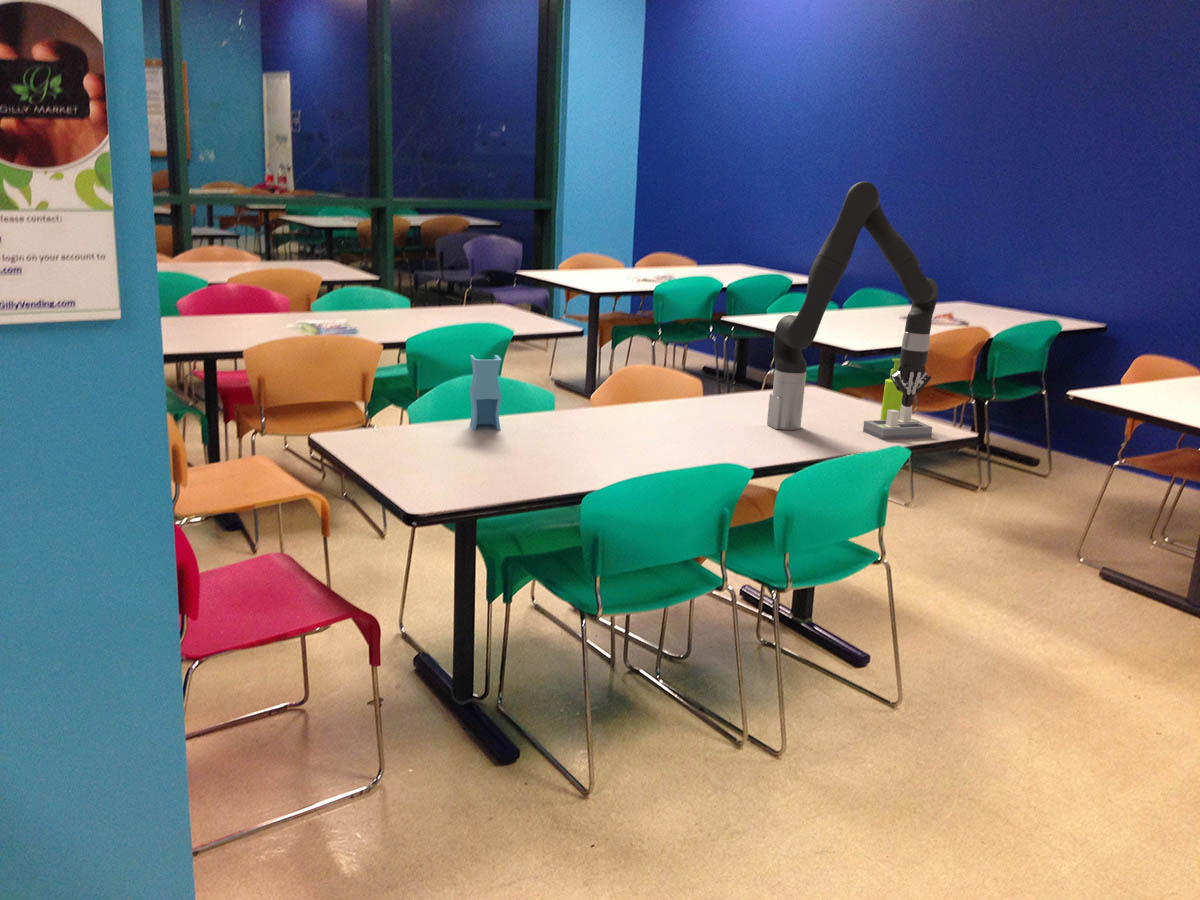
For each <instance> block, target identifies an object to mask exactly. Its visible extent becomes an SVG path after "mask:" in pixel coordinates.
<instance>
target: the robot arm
mask: <svg viewBox="0 0 1200 900" xmlns="http://www.w3.org/2000/svg"><path fill="white" fill-rule="evenodd" d="M843 201H844V202H843V205H842V207H841V210H840V212H839V215H838V217H837V220H836V222H835V223H834V226H833V227H832V229H831V230H830V232H829V234H828V235H827V237H826V239H825V240H824V242H823V244H822V246H821V247H820V250H819V251H818V254H816V257H815V259H814V261H813V263H812V266H811V267H810V270H809V273H808V278H807V288H806V295H805V299H804V301H803V304H802V306H801V308H800V310H799V311H798V312H797V315H794V314H793V315H792V314H787V315H785V316H783V317H782V318H780V319H779V320H778V322H777V324H776V326H775V331H774V339H773V360H774V366H775V367H774V376H773V384H772V385H773V386H772V393H770V394H769V399H768V410H767V421H766V426H767V425H768V426H770V427H771V428H773V429H775V430H783V431H795V430H799V429H801V427H802V416H803V408H804V407H803V406H804V396H805V389H806V388H805V387H806V381H807V379H806V378H807V369H808V364H807V361H806V359H805V357H804V355H803V350H805V349H807V348H808V347H809V346H811V345H812V343H813V341H814V340H815V337H816V335H817V334H818V330H819V328H820V324H821V323H822V319H823V317H824V314H825V312H826V310H827V308H828V306H829V303H830V302H831V300H832V298H833V295H834V293H835V291H836V289H837V287H838V286H839V283H840V281H841V279H842V278H843V276H844V274H845V272H846V270H847V267H848V266H849V263H850V261H851V258H852V256H853V253H854V250H855V246H856V243H857V239H858V237H859V234H860V233H861V231H862V228H863V227H864V229H865V230H866V231H867V232H868V234H869V235H870V236H871V238H872V239H873V240H874V242H875V243H876V244H877V246H878V248H879V249H880V251H881V253H882V254H883V255H884V258H886V260H887V262H888V264H889V265H890V266H891V268H892V269H893V272H894V273H895V274H896V276H897V277H898V278H899V281H900V284H901V285H902V287H903V290H904V292H905V293H906V295H907V297H908V298H909V300H911V301H912V302H911V307H910V310H909V312H908V314H907V316H906V321H905V327H904V334H903V336H902V342H901V348H900V349H901V350H900V356H899V359H900V367H899V369H898V372H897V373H896V374H892V375H891V376H890V375H889V378H890V377H891V379H892V381H893V383H894V384H895V386H896V388H897V390H898V391H900V392H902V393H903V396H902V405H903V406H905V407H911V406H912V405H913V403H914V396H915V394H916V393H920V392H922V390H923V389H924V388H925V387H926V385H927V384H928V383H929V382H930V380H932V376H931V375H929V374H928V373H927V372H926V365H927V362H928V355H929V349H930V341H931V340H930V339H931V336H930V335H931V329H932V322H933V321H932V320H933V319H932V318H933V316H934V315H933V314H934V312H935V309H936V305H937V301H938V297H939V287H938V284H937V282H936V281H935V280H934V279H933V278H930V277H926V275H925V274H924V273H923V271H922V269H921V263H920V261H919V259H918V258H917V256H916V255H915V253H914V251H913V250H912V249H911V247H910V245H909V244H908V243H907V242H906V241H905V239H904V238H903V237H902V236H901V235H900V233H898V232H897V231H896V229H895V228H894V226H893V225H892V224H891V223H890V221H889V219H888V218H887V216H886V214H885V213H884V210H883V208H882V206H881V204H880V194H879V190H878V189H877V187H876V186H875V184H873V183H872V182H870V181H867V180H866V181H859V182H857V183H855V184H853V185H852V186H851V187H850V188H849V190H848V191H847V194H846V197H845V199H844V200H843ZM901 380H902V382H901Z"/></svg>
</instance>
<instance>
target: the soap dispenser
mask: <svg viewBox="0 0 1200 900" xmlns="http://www.w3.org/2000/svg"><path fill="white" fill-rule="evenodd" d="M891 360H892V362H893V363H894V365H893V368H890V373H889V378H887V379H885V380H884V386H883V387H884V388H883V389H884V390H883V395H882V402H881V403H882V404H881V412H880V419H879V420H886V419H887V411H888V410H894V409H895V410H897V411H899V416H900V408H901V405H903V404H902V396H903V393H902V392H900V391H898V390H897V388H896V386H895V384H894V383H893V381H892V379H891V377H890V376H891V375H892V374H896V373H897V372H898V369H899V367H900V357H899V358H892V359H891ZM901 382H902V379H901ZM898 419H899V418H898Z"/></svg>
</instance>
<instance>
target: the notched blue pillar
mask: <svg viewBox="0 0 1200 900" xmlns="http://www.w3.org/2000/svg"><path fill="white" fill-rule="evenodd" d="M469 358H470V360H471V361H470V362H471V367H472V379H471V384H470V387H469V397H470V404H471V417H470V422H469V426H470V428H471V430H472V431H473V432H474V431H476V430H477V425H492V426H494V427H495V428H496V431H501V430H502V429H501V424H500V406H501V403H502V392H501V389H500V385H499V371H500V367H501V366H500V365H501V362H502V358H501V357H500V356H499V355H498V354H494V356H493V359H478V358H475V356H474V355H473V354H470V355H469Z"/></svg>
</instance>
